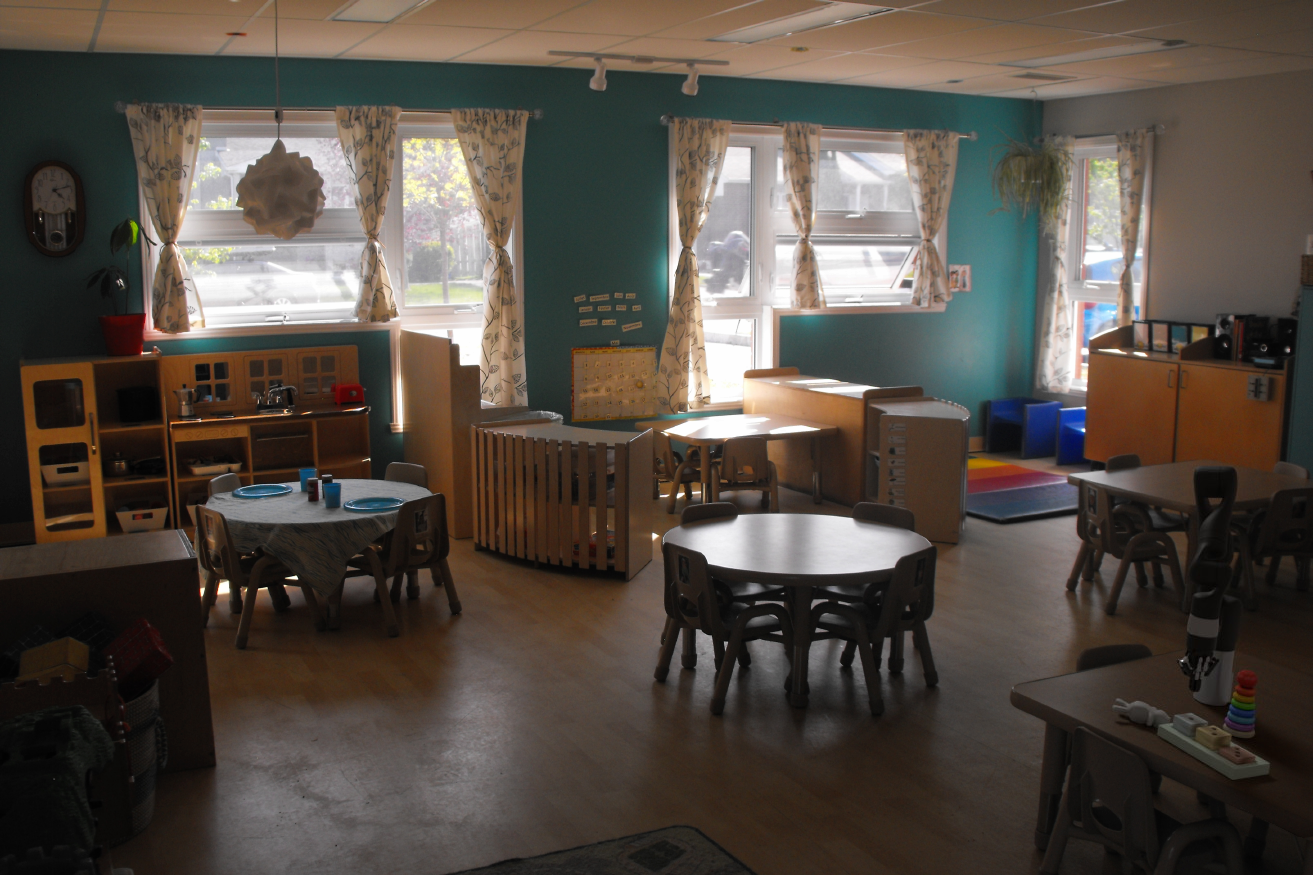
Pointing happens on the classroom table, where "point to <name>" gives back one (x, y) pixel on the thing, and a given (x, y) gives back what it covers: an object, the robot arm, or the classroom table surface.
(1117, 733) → the classroom table surface
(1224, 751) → the tile
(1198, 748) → the number board
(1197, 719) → the grey block
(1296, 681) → the classroom table surface
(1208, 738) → the tile
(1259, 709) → the classroom table surface
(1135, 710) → the bunny figurine
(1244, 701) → the stacking toy
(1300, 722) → the classroom table surface
